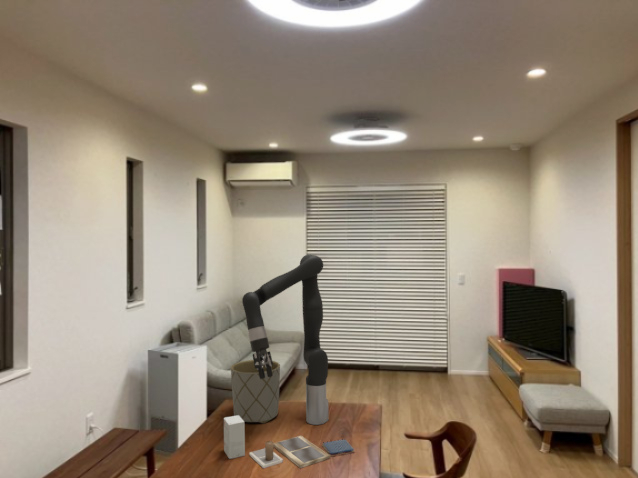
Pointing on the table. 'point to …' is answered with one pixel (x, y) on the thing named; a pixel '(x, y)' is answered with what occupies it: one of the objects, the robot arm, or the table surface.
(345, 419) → the table surface
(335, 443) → the woven mat
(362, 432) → the table surface
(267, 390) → the planter
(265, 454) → the plate
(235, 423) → the small box
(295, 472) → the table surface
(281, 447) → the board
